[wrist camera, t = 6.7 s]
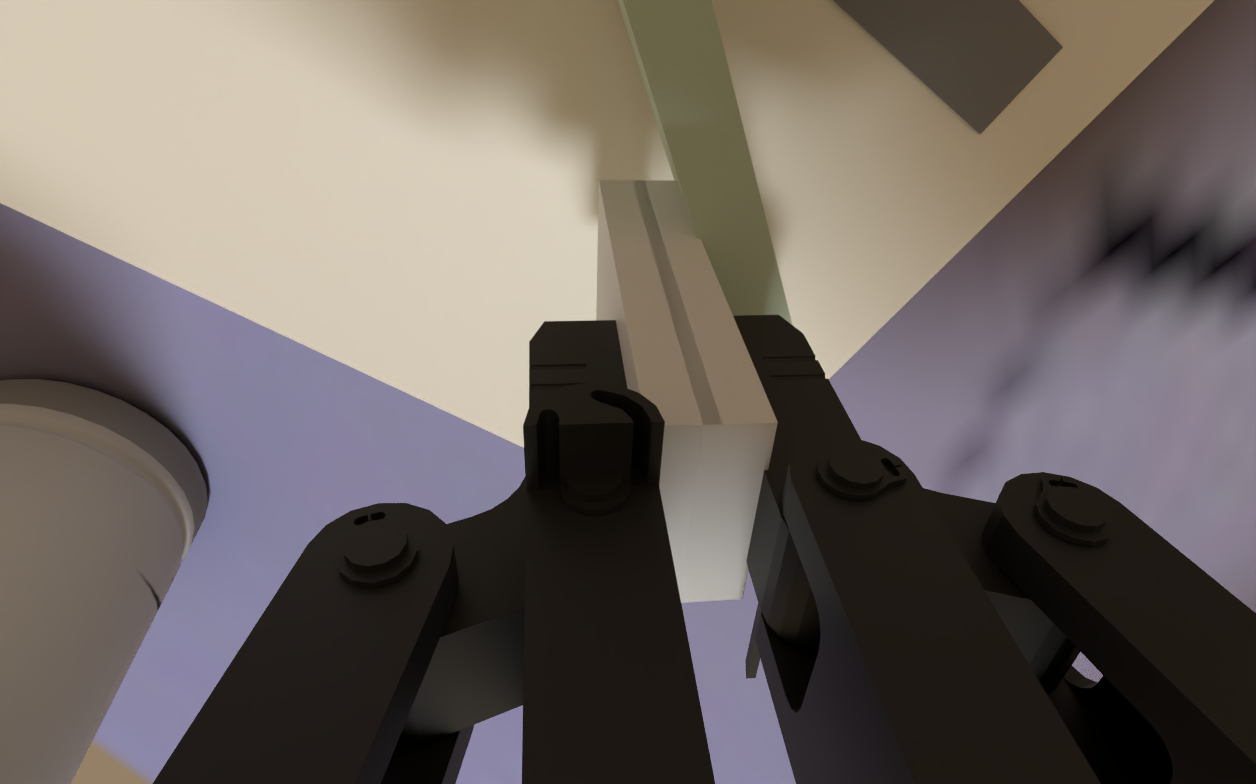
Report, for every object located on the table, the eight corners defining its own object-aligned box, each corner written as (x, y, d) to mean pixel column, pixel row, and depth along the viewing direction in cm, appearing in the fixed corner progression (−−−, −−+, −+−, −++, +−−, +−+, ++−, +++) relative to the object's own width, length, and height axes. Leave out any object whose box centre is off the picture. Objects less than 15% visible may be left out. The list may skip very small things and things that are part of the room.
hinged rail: (528, -209, 11) (518, -231, 7) (630, -253, 11) (674, -303, 7) (711, 342, 17) (760, 494, 13) (779, 319, 17) (848, 467, 13)
